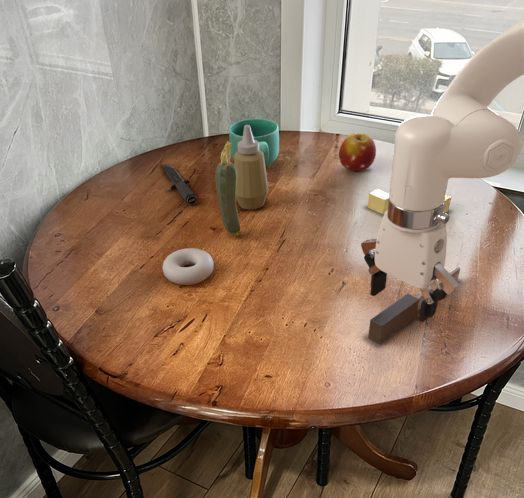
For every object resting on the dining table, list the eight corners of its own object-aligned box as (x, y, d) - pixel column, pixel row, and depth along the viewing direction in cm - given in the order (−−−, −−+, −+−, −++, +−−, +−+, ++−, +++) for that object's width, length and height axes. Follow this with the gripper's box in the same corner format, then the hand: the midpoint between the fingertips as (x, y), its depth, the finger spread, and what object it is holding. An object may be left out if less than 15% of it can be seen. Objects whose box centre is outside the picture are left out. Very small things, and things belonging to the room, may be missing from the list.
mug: (229, 156, 145) (226, 120, 139) (275, 151, 146) (274, 115, 140) (236, 183, 133) (233, 146, 127) (286, 178, 134) (285, 140, 128)
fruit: (364, 178, 133) (367, 146, 127) (331, 171, 136) (332, 140, 131) (380, 163, 138) (383, 132, 133) (347, 157, 142) (350, 126, 137)
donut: (217, 285, 103) (211, 255, 110) (215, 270, 101) (210, 241, 108) (165, 292, 102) (162, 262, 109) (162, 277, 100) (160, 247, 107)
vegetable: (225, 242, 114) (216, 149, 100) (218, 232, 117) (208, 141, 103) (244, 237, 115) (238, 144, 101) (237, 227, 118) (229, 136, 104)
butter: (448, 211, 120) (451, 196, 117) (426, 224, 116) (429, 209, 113) (431, 204, 122) (433, 190, 120) (409, 217, 118) (412, 202, 116)
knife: (200, 200, 126) (192, 192, 124) (184, 213, 127) (177, 205, 125) (178, 159, 143) (172, 151, 141) (165, 170, 144) (158, 163, 142)
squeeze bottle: (274, 199, 127) (272, 121, 115) (260, 215, 122) (256, 135, 109) (243, 193, 130) (238, 116, 117) (228, 209, 124) (221, 130, 112)
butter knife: (461, 283, 100) (466, 265, 98) (379, 344, 89) (381, 326, 86) (450, 277, 102) (454, 260, 99) (367, 338, 90) (370, 319, 88)
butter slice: (391, 209, 121) (393, 195, 119) (383, 214, 120) (384, 200, 117) (375, 203, 124) (377, 188, 121) (367, 207, 122) (368, 193, 120)
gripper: (484, 220, 73) (460, 317, 85) (383, 182, 83) (374, 273, 95) (452, 243, 70) (432, 340, 82) (350, 200, 80) (345, 292, 91)
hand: (401, 304), depth 88 cm, fingers open, 9 cm apart
